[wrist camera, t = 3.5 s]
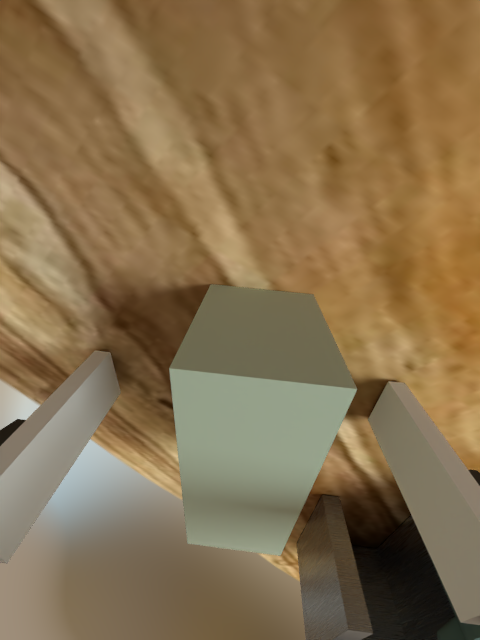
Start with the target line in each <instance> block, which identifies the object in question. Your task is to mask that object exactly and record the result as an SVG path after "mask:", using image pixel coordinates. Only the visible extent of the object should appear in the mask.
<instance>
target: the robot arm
mask: <svg viewBox="0 0 480 640" xmlns="http://www.w3.org/2000/svg"><path fill="white" fill-rule="evenodd" d="M120 393H121V391H120V387H119V384H118V380H117V376H116V372H115V368H114V364H113V360H112V356H111V353H110V352H104V351H94V352H93V353H92V354H91V355H90V356H89V357H88V358H87V359H86V360H85V361H84V362H83V363H82V364H81V365H80V366H79V367H78V368H77V369H76V370H75V371H74V372H73V373H72V374H71V375H70V376H69V377H68V378H67V379H66V380H65V381H64V382H63V383H62V384H61V385H60V386H59V387H58V388H57V389H56V390H55V391H54V392H53V393H52V394H51V395H50V396H49V397H48V398H47V399H46V400H45V402H44V403H43V404H42V405H41V406H40V407H39V408H38V409H37V410H36V411H35V412H34V413H33V414H32V415H31V416H30V417H29V418H28V419H27V420H20V419H17V420H15V421H14V422H13V423H11V424H9V425H8V426H6V427H5V428H3V429H2V430H0V563H8V562H9V560H10V559H11V557H12V556H13V554H14V553H15V551H16V550H17V548H18V547H19V545H20V544H21V542H22V541H23V539H24V538H25V536H26V535H27V533H28V532H29V530H30V529H31V527H32V526H33V524H34V523H35V521H36V520H37V518H38V516H39V515H40V513H41V512H42V510H43V509H44V507H45V506H46V504H47V503H48V501H49V500H50V498H51V497H52V495H53V493H54V492H55V491H56V489H57V488H58V486H59V485H60V483H61V482H62V480H63V479H64V477H65V476H66V474H67V473H68V471H69V470H70V468H71V467H72V465H73V464H74V462H75V461H76V459H77V458H78V456H79V455H80V453H81V452H82V450H83V449H84V447H85V446H86V444H87V443H88V441H89V440H90V438H91V437H92V435H93V434H94V432H95V431H96V429H97V428H98V426H99V425H100V423H101V422H102V420H103V419H104V417H105V416H106V414H107V413H108V411H109V410H110V408H111V407H112V405H113V404H114V402H115V401H116V399H117V398H118V396H119V395H120ZM368 421H369V423H370V425H371V428H372V430H373V432H374V434H375V436H376V439H377V441H378V443H379V445H380V447H381V449H382V452H383V454H384V456H385V458H386V460H387V463H388V465H389V467H390V469H391V471H392V474H393V476H394V478H395V480H396V482H397V484H398V487H399V489H400V491H401V493H402V495H403V498H404V500H405V502H406V504H407V506H408V509H409V511H410V513H411V515H412V517H413V519H414V522H415V524H416V526H417V528H418V530H419V533H420V535H421V537H422V539H423V541H424V544H425V546H426V548H427V550H428V552H429V555H430V557H431V559H432V561H433V563H434V565H435V568H436V570H437V572H438V574H439V576H440V579H441V581H442V583H443V585H444V587H445V590H446V592H447V594H448V596H449V598H450V600H451V603H452V605H453V607H454V609H455V611H456V614H457V616H458V618H459V620H460V622H461V623H468V624H475V625H480V473H479V472H478V471H476V470H468V469H467V468H466V466H465V465H464V464H463V462H462V461H461V460H460V458H459V457H458V455H457V454H456V453H455V451H454V450H453V449H452V447H451V446H450V444H449V443H448V442H447V440H446V439H445V438H444V436H443V435H442V433H441V432H440V431H439V429H438V428H437V427H436V425H435V424H434V422H433V421H432V420H431V418H430V417H429V416H428V414H427V413H426V411H425V410H424V409H423V407H422V406H421V405H420V403H419V402H418V400H417V399H416V398H415V396H414V395H413V393H412V392H411V391H410V389H409V388H408V387H407V385H406V384H405V383H400V382H391V381H388V383H387V385H386V386H385V388H384V390H383V392H382V394H381V396H380V398H379V400H378V401H377V403H376V405H375V407H374V409H373V411H372V413H371V414H370V416H369V418H368Z"/></svg>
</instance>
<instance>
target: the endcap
mask: <svg viewBox="0 0 480 640" xmlns="http://www.w3.org/2000/svg"><path fill="white" fill-rule="evenodd" d="M297 553H298V563H299V574H300V584H301V594H302V605H303V615H304V625H305V635H306V640H438V637H437V631H438V630H439V629H441V628H442V627H443V626H444V625H445V624H446V623H448V622H449V621H450V620H451V619H452V618H453V617H455V614H454V612H453V610H452V607H451V605H450V603H449V600H448V598H447V596H446V594H445V591H444V589H443V587H442V584H441V582H440V580H439V577H438V575H437V573H436V570H435V568H434V566H433V563H432V561H431V559H430V557H429V554H428V552H427V550H426V547H425V545H424V543H423V540H422V538H421V536H420V533H419V531H418V529H417V527H416V524H415V522H414V519H413V517H412V515H411V516H410V517H409V518H408V519H407V520H406V521H405V522H404V523H403V524H402V525H401V526H400V527H399V528H398V529H397V530H396V531H395V532H394V533H393V534H391V535H390V536H389V537H388V538H387V539H386V540H385V541H384V542H383V543H382V544H381V545H380V546H379V547H378V548H377V549H374V548H366V547H358V546H351V542H350V538H349V534H348V530H347V525H346V521H345V517H344V513H343V509H342V505H341V501H340V497H336V496H328V495H322V496H321V498H320V500H319V502H318V504H317V506H316V508H315V510H314V511H313V513H312V515H311V517H310V519H309V521H308V523H307V525H306V527H305V529H304V531H303V533H302V535H301V536H300V538H299V540H298V542H297Z"/></svg>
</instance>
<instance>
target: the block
mask: <svg viewBox="0 0 480 640" xmlns="http://www.w3.org/2000/svg"><path fill="white" fill-rule="evenodd" d="M169 371H170V381H171V391H172V400H173V410H174V419H175V429H176V438H177V448H178V458H179V467H180V477H181V486H182V496H183V506H184V515H185V525H186V533H187V543H188V544H196V545H204V546H210V547H218V548H226V549H233V550H241V551H248V552H256V553H263V554H271V555H278V556H280V555H281V553H282V551H283V549H284V547H285V545H286V542H287V540H288V538H289V536H290V534H291V532H292V529H293V527H294V525H295V523H296V521H297V519H298V516H299V514H300V512H301V510H302V508H303V506H304V504H305V501H306V499H307V497H308V495H309V493H310V491H311V488H312V486H313V484H314V482H315V480H316V478H317V475H318V473H319V471H320V469H321V467H322V465H323V462H324V460H325V458H326V456H327V454H328V452H329V449H330V447H331V445H332V443H333V441H334V439H335V436H336V434H337V432H338V430H339V428H340V426H341V423H342V421H343V419H344V417H345V415H346V413H347V410H348V408H349V406H350V404H351V402H352V400H353V397H354V395H355V393H356V391H357V387H356V385H355V383H354V381H353V379H352V377H351V374H350V372H349V370H348V368H347V366H346V364H345V362H344V359H343V357H342V355H341V353H340V351H339V349H338V346H337V344H336V342H335V340H334V338H333V336H332V333H331V331H330V329H329V327H328V325H327V323H326V321H325V318H324V316H323V314H322V312H321V310H320V308H319V305H318V303H317V301H316V299H315V297H314V295H313V294H304V293H294V292H284V291H274V290H264V289H254V288H244V287H234V286H224V285H214V284H211V285H210V287H209V289H208V291H207V293H206V295H205V297H204V299H203V301H202V303H201V305H200V307H199V309H198V311H197V313H196V315H195V317H194V319H193V321H192V323H191V325H190V327H189V329H188V331H187V333H186V335H185V337H184V339H183V341H182V343H181V345H180V347H179V349H178V351H177V353H176V355H175V358H174V360H173V362H172V364H171V366H170V368H169Z"/></svg>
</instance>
